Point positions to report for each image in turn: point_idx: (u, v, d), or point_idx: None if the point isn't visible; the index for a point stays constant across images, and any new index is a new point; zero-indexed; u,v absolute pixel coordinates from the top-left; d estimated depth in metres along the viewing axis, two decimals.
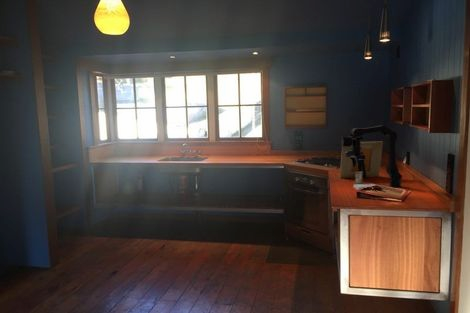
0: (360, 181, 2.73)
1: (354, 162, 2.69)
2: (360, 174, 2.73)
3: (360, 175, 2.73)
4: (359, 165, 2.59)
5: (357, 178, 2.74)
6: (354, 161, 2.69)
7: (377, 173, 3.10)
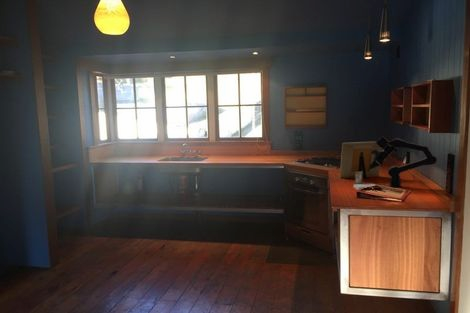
0: (360, 181, 2.73)
1: None
2: (360, 174, 2.73)
3: (360, 175, 2.73)
4: (372, 166, 2.66)
5: (357, 178, 2.74)
6: None
7: (377, 173, 3.10)
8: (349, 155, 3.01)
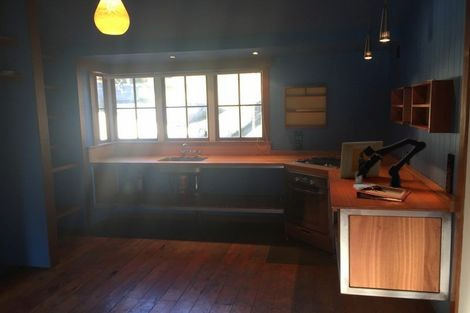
0: (360, 181, 2.73)
1: None
2: None
3: None
4: (359, 174, 2.72)
5: (357, 178, 2.74)
6: None
7: (377, 173, 3.10)
8: (349, 155, 3.01)
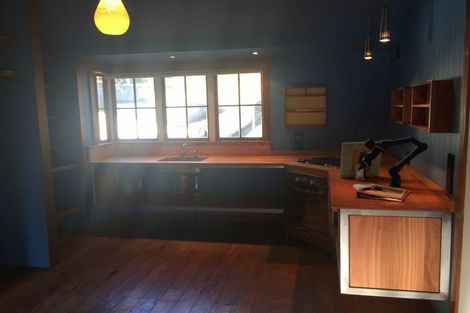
0: (362, 174, 2.70)
1: None
2: None
3: None
4: (360, 167, 2.68)
5: (359, 171, 2.70)
6: None
7: (377, 173, 3.10)
8: (349, 155, 3.01)
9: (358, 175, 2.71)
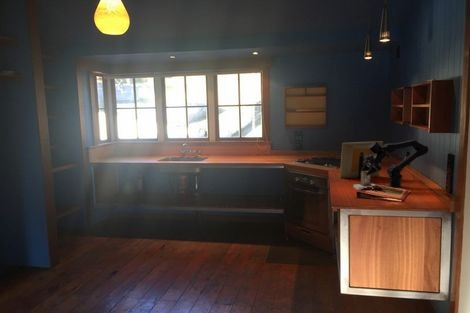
0: (368, 181, 2.63)
1: (364, 170, 2.68)
2: None
3: None
4: (369, 172, 2.59)
5: (366, 177, 2.62)
6: (365, 169, 2.68)
7: (377, 173, 3.10)
8: (349, 155, 3.01)
9: (365, 181, 2.63)
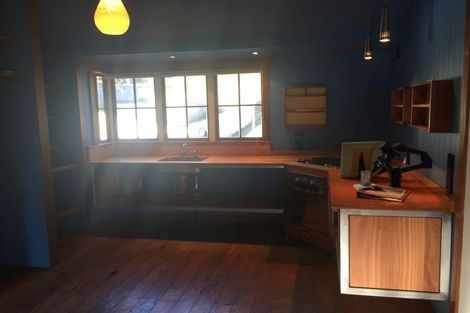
0: (368, 181, 2.63)
1: (374, 169, 2.69)
2: (368, 173, 2.62)
3: (368, 174, 2.62)
4: (380, 172, 2.59)
5: (366, 177, 2.62)
6: (375, 168, 2.69)
7: None
8: (349, 155, 3.01)
9: (365, 181, 2.63)
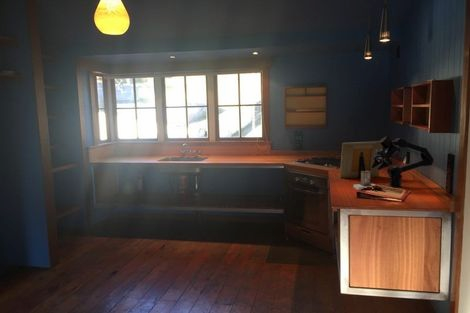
0: (368, 181, 2.63)
1: (375, 164, 2.69)
2: (368, 173, 2.62)
3: (368, 174, 2.62)
4: (380, 167, 2.59)
5: (366, 177, 2.62)
6: (375, 164, 2.69)
7: (377, 173, 3.10)
8: (349, 155, 3.01)
9: (365, 181, 2.63)
